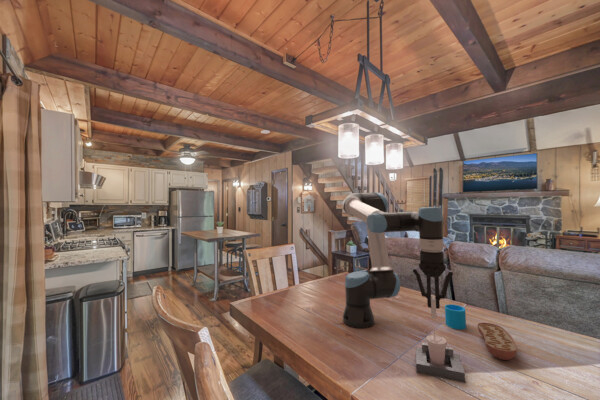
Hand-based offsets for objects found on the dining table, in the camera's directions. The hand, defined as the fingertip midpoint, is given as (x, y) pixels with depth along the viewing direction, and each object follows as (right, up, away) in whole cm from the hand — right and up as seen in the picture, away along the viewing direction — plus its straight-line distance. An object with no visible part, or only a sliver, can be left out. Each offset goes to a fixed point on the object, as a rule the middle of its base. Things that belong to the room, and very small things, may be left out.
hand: (433, 316), depth 91 cm
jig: (0, -17, -2) cm, 17 cm away
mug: (+26, -17, +29) cm, 43 cm away
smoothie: (0, -17, -2) cm, 17 cm away
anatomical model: (+29, -16, +8) cm, 34 cm away
